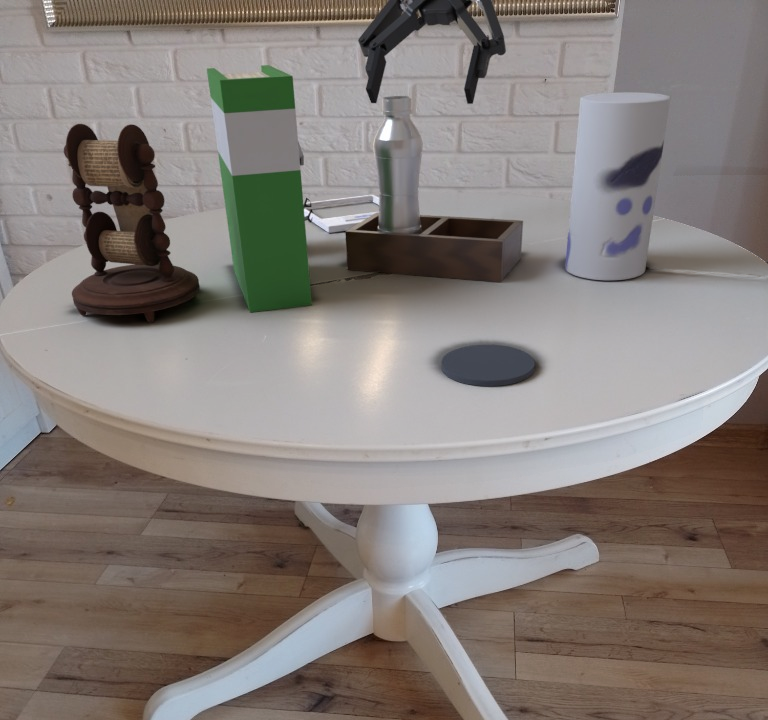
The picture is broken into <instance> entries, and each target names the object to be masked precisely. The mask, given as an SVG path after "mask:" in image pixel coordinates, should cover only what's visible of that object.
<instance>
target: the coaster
mask: <svg viewBox="0 0 768 720" xmlns="http://www.w3.org/2000/svg"><path fill="white" fill-rule="evenodd" d="M440 365H441V367H440V369H441V372H442V373H443V374H444V375H445V376H446V377H447V378H449V379H450V380H453V381H455V382H458V383H461V384H465V385H471V386H478V387H501V386H508V385H514V384H517V383H520V382H524V381H525V380H526V379H529V378H530V377H531V376H532V375H533V374H534V372H535V369H536V368H535V367H536V361H535V359H534V357H533V356H532V355H531V354H529V353H528V352H526V351H524V350H521V349H518V348H516V347H512V346H507V345H500V344H472V345H466V346H463V347H462V346H461V347H459V348H458V347H457V348H455V349H452V350H451V351H449V352H447V353H446V354H445V355H443V357H442V359H441V363H440Z"/></svg>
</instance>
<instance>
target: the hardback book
mask: <svg viewBox="0 0 768 720" xmlns="http://www.w3.org/2000/svg"><path fill="white" fill-rule="evenodd" d="M260 69H261V71H257V72H238V73H221V72H220V71H219V70H218V69H217V68H216V67H212V68H211V67H210V68H209V67H208V68H206V74H207V80H208V88H209V89H208V90H209V96H210V104H211V111H212V119H213V126H214V133H215V140H216V146H217V147H216V148H217V154H218V163H219V169H220V170H219V171H220V177H221V178H220V179H221V184H222V191H223V200H224V207H225V214H226V222H227V229H228V236H229V244H230V251H231V258H232V265H233V272H234V274H235V275H234V276H235V277H236V280H237V282H238V286H239V288H240V290H241V293H242V296H243V299H244V301H245V303H246V307H247V310H248V311H249V313H256V312H257V313H258V312H266V311H274V310H282V309H291V308H299V307H309V306H312V305H313V303H312V292H311V291H312V290H311V278H310V265H309V255H308V253H309V252H308V244H307V243H308V241H307V231H306V221H305V216H304V205H303V203H304V194H303V183H302V171H301V170H302V169H301V166H300V158H299V146H298V142H299V136H298V135H299V133H298V123H297V113H296V112H297V111H296V110H297V109H296V102H295V100H296V99H295V88H294V76H293V75H291V74H290V73H287V72H285V71H283V70H280V69H278V68H276V67H274V66H272V65H270V64H263V65H260Z"/></svg>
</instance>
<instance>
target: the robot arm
mask: <svg viewBox="0 0 768 720" xmlns="http://www.w3.org/2000/svg"><path fill="white" fill-rule="evenodd" d="M473 2H474V3H476V6H477V7H478V8H479V10H482V12H483V17H484V19H485V23H486V26H487V28H488V33H489V34H490V37H491V38H490V37H489V34H487V35H486V34H485V32H484V31H483V29H482V28H481V27H480V26H479V24H478V23H477V22H476V20H475V19H474V18H473V16H472V15H471V14H470V12H469V11H468V8H469V7H470V6H471V5H472V4H473ZM418 16H419V17H418ZM451 23H455V24H456V26H457V28H458V29H459V30H462V32H463V33H464V34H465V36H466V37H467V39H468V41H470V43H471V44H472V45H473V47H472V52H471V57H470V61H469V65H468V70H467V74H466V79H465V83H464V88H463V91H464V95H465V100H466V103H467V104H468V105H473V104H474V101H475V95H476V92H477V88H478V87H477V86H478V82H479V79H485V78H486V76H487V74H488V70H489V65H490V60H491V58H492V57H493V56H494V55H498V56H503V55H505V54H506V52H507V47H506V41H505V34H504V33H503V30H502V27H501V24H500V21H499V18H498V15H497V13H496V10H495V7H494V0H388V1H386V3H385V4H384V6H383V7H382V8H381V10H380V11H379V13H378V14H376V16H375V18H373V20H372V21H371V23H369V25H368V26H367V28H366V29H365V30H364V31H363V33H361V35H360V37H359V38H358V39H357V42H358V45H359V48H360V50H361V53H362V56H363V57H365V58H367V59H366V62H365V68H364V70H365V72H366V75H367V83H366V86H365V91H366V93H367V97H368V98H369V101H370V103H371V104H377V103H378V98H379V94H380V90H381V86H382V82H383V78H384V74H385V70H386V65H387V60H386V56H387V55H388V54H389V53H390V52H392V51H393V50H394V49H395V48H396V47H397V46H398V45H400V44H401V43H402V42H403V41H404V40H405V39H407V38H408V37H409V36H410V35H411V34H412V33H414V31H415V32H416V31H420V30H421V29H422V28H424V27H425V26H436V25H442V26H450V25H451Z"/></svg>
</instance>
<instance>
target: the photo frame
mask: <svg viewBox="0 0 768 720" xmlns="http://www.w3.org/2000/svg"><path fill="white" fill-rule="evenodd" d="M310 202H311V207H305V209H304V217H306V216H308V215H309V213H310V211H311V210H313V209H319V208H327V207H335V206H344V205H351V204H360V203H368V202H372V203H374V204H376V205H378V206H379V196H377V195H375V194H366V195H357V196H349V197H341V198H332V199H326V200H317V201H307V203H306V205H309V206H310ZM303 205H304V202H303ZM377 212H378V213H379V211H371V212H363V213H357V214H349V215H342V216H333V217H326V218H325V217H324V218H321V217H319V216H318V215H317V214H314V212H313V213H312V212H311V214H310V217H309V219H310V220H311V219H312V221H311V223H313V224H315V225H317V226H318V227H319V228H321V229H323V230H324V231H325V232H327V233H328V234H331V233H339V232H344V231H347V230H349V229H350V228H352V227H354V226H355V225H357V224H358V223H360V222H362V221H363V220H365V219H367V218H368V217H370V216H372V215H373V214H375V213H377ZM312 217H313V218H312Z"/></svg>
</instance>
